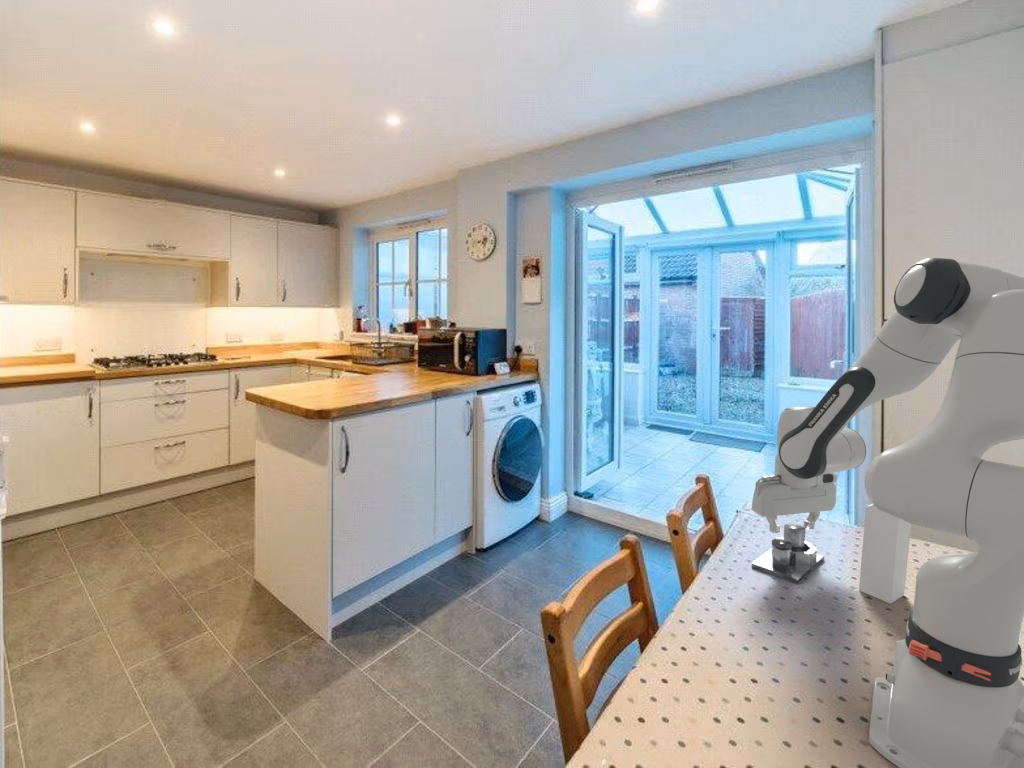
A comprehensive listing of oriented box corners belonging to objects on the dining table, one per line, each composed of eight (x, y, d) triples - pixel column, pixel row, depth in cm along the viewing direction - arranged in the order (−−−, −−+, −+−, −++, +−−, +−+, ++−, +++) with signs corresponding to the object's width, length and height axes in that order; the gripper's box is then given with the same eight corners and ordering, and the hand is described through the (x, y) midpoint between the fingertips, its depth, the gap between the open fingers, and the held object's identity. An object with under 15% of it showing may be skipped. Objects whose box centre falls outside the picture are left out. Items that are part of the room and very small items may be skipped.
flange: (797, 583, 109) (799, 555, 108) (751, 566, 117) (753, 540, 116) (823, 559, 119) (825, 533, 118) (779, 545, 127) (781, 520, 126)
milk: (858, 591, 106) (865, 491, 103) (872, 582, 109) (879, 485, 106) (891, 604, 101) (900, 500, 98) (905, 595, 104) (914, 494, 101)
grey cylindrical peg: (808, 558, 118) (809, 530, 117) (791, 560, 117) (793, 532, 116) (794, 549, 122) (796, 522, 121) (778, 551, 122) (780, 524, 121)
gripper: (766, 481, 112) (762, 539, 113) (843, 475, 116) (838, 531, 117) (747, 472, 118) (744, 528, 120) (821, 467, 122) (817, 521, 124)
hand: (791, 530), depth 119 cm, fingers open, 8 cm apart
